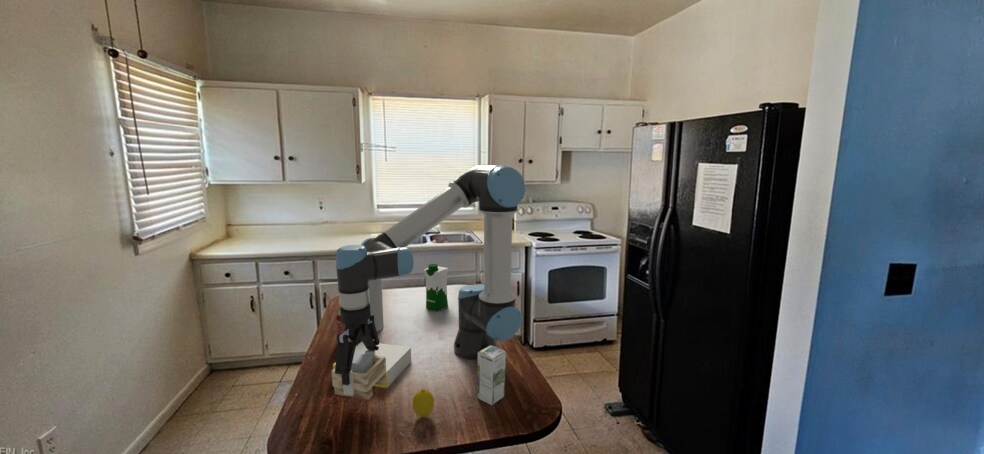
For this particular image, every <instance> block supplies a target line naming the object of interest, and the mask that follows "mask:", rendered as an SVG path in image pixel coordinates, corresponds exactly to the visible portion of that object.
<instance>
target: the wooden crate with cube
mask: <svg viewBox="0 0 984 454" xmlns="http://www.w3.org/2000/svg"><path fill="white" fill-rule="evenodd" d="M354 354H355V353H354ZM372 359H373V366H372V367H371V368H370V369H369V370H368V371H366V372H365V373H358V372H353V380H354V393H355V394H354V395H353V396H351V395H345V394H344V392H343V384H342V375H341V374H335V368H334V369H333V368H332V370H331V382H332V387H333V388H334V389H333V390H334V395H338V396H343V397H350V398H356V399H361V400H368V401H369V400H370V399H371V398H372V397H373V396H374V393H373V387H374V386H373V385H374V384H379V385H383V384H384V383H385V382H386V357H382V356H375V355H372Z"/></svg>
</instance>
